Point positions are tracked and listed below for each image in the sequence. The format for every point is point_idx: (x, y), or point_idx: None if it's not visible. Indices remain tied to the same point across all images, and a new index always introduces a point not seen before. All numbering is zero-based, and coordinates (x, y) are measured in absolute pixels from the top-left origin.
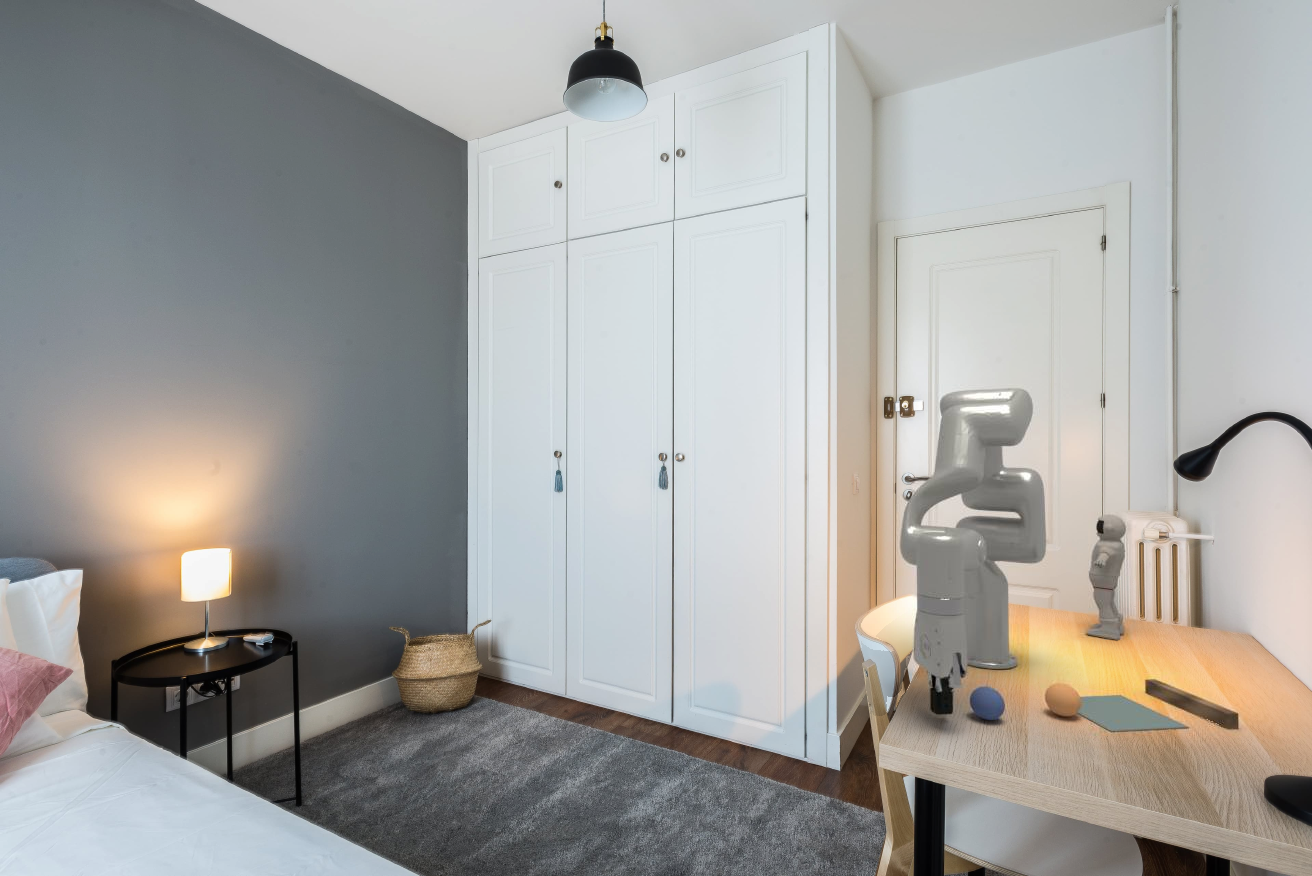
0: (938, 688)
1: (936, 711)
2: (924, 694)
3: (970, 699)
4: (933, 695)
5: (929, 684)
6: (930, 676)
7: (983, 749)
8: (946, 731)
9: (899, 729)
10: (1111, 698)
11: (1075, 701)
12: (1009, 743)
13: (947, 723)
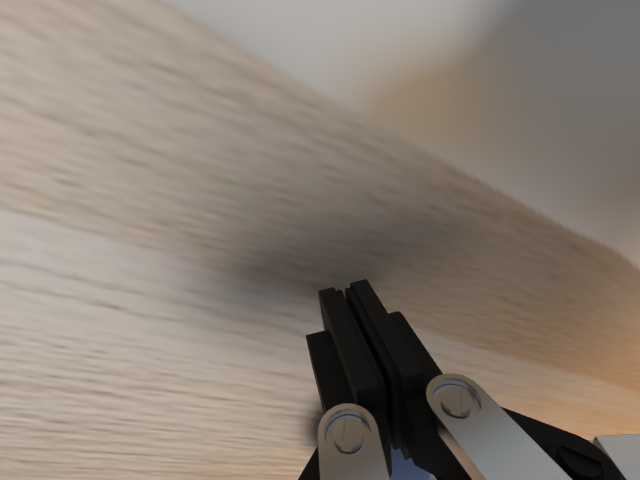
0: (336, 440)
1: (322, 302)
2: (581, 285)
3: (393, 454)
4: (361, 354)
5: (461, 381)
6: (491, 459)
7: (55, 385)
8: (223, 290)
9: (201, 40)
10: None
11: None
12: (155, 456)
13: (312, 309)
